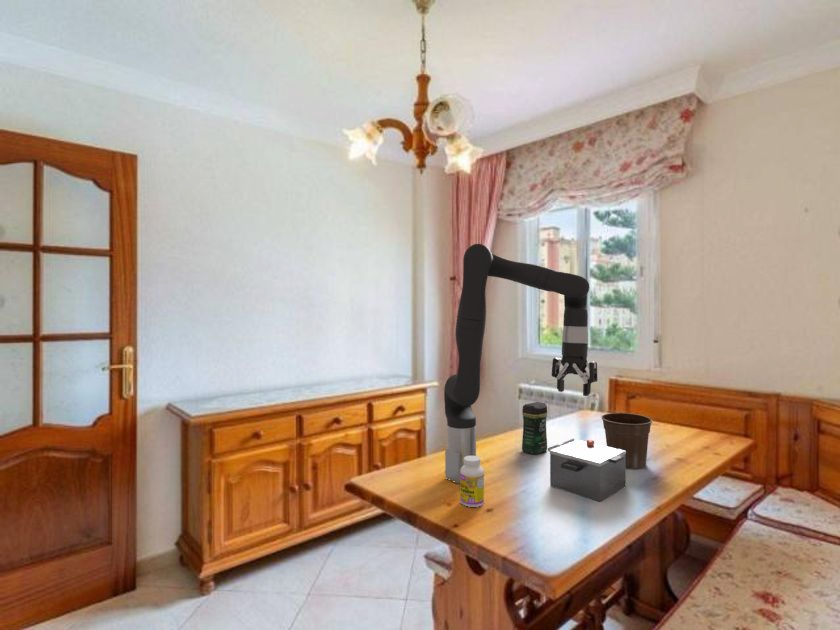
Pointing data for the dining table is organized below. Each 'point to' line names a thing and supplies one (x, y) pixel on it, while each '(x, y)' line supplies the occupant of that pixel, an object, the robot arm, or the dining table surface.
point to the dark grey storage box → (587, 477)
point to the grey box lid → (587, 452)
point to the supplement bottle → (472, 482)
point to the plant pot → (628, 436)
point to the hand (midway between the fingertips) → (573, 393)
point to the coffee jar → (534, 428)
